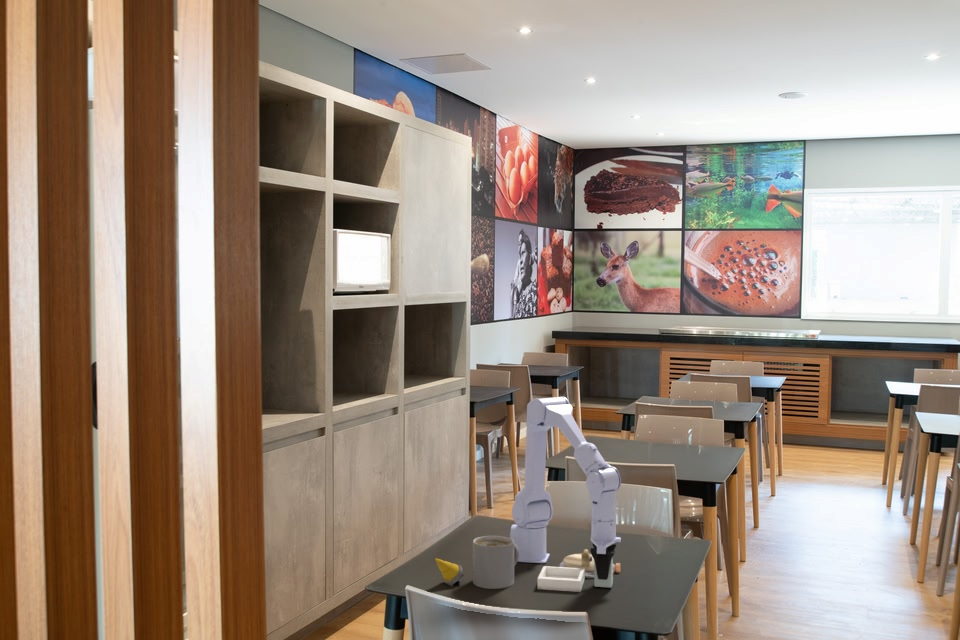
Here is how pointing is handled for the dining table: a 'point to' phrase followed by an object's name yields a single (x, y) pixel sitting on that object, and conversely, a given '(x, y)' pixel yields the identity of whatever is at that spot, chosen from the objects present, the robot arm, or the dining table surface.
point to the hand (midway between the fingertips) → (603, 576)
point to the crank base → (591, 574)
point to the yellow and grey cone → (450, 571)
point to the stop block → (604, 582)
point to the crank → (580, 561)
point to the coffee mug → (494, 561)
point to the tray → (561, 578)
